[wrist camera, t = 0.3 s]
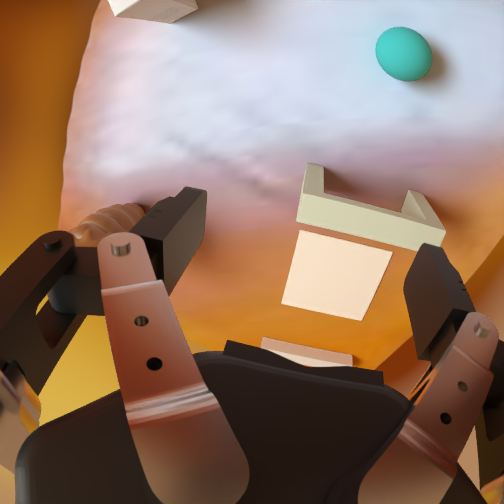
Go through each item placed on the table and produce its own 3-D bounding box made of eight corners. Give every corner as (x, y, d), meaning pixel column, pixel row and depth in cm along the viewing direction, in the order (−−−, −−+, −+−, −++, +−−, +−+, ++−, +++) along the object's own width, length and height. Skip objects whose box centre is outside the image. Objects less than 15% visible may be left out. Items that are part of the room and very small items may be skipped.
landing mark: (300, 229, 42) (300, 230, 42) (392, 251, 41) (392, 252, 41) (281, 302, 49) (281, 303, 49) (361, 319, 48) (361, 320, 48)
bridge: (307, 162, 37) (302, 192, 29) (422, 193, 36) (446, 231, 28) (302, 185, 39) (296, 221, 31) (414, 214, 38) (435, 256, 30)
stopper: (263, 336, 54) (260, 347, 52) (352, 354, 53) (352, 365, 51) (261, 343, 55) (258, 354, 53) (348, 361, 54) (348, 372, 52)
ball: (376, 23, 27) (386, 15, 22) (426, 40, 26) (444, 36, 21) (367, 71, 30) (375, 71, 25) (416, 86, 29) (433, 91, 24)
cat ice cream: (162, 190, 43) (86, 263, 28) (164, 238, 47) (101, 321, 33) (110, 182, 44) (27, 246, 29) (114, 228, 48) (45, 300, 33)
